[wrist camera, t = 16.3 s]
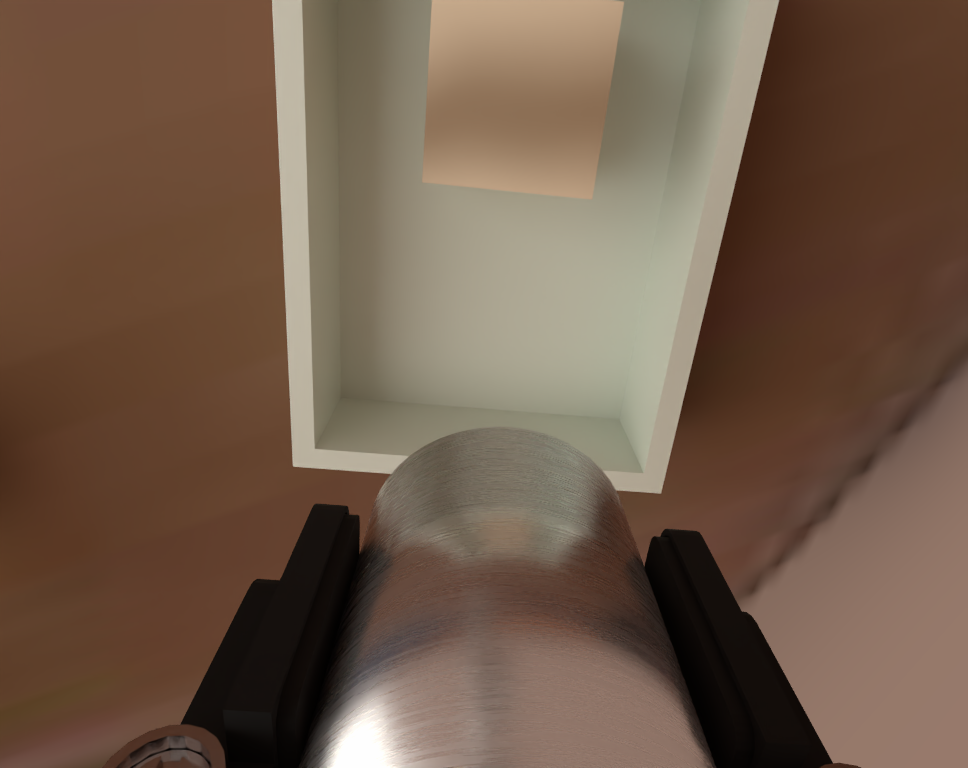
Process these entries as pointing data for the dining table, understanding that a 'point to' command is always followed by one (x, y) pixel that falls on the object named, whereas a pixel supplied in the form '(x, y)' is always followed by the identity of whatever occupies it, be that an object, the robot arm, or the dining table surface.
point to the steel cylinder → (502, 623)
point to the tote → (501, 243)
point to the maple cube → (519, 93)
